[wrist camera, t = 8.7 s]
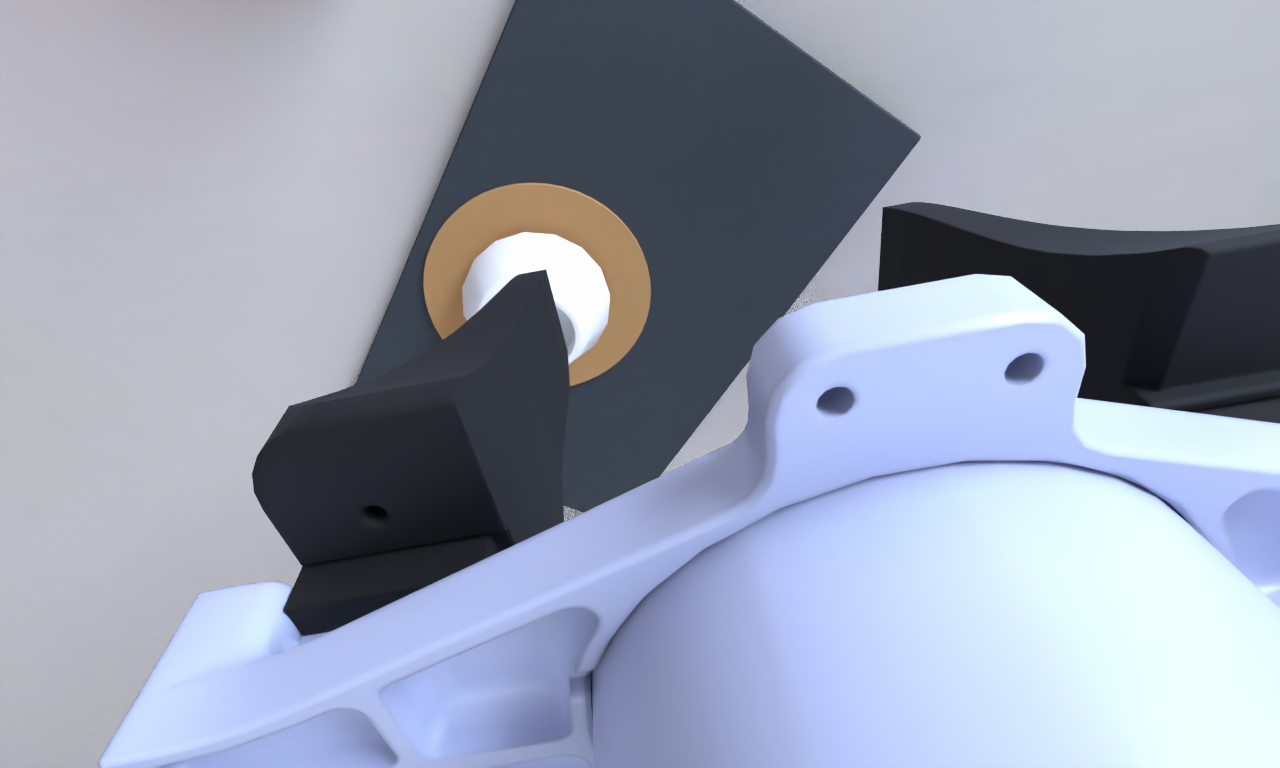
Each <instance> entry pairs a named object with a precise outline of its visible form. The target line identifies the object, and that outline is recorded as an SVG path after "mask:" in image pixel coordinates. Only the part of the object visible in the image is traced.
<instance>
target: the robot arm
mask: <svg viewBox="0 0 1280 768" xmlns="http://www.w3.org/2000/svg"><path fill="white" fill-rule="evenodd" d="M747 389H748V401H749V413H748V422H747V425H746V427H745V430H744V431H743V433H742V434H741V435H740V436H739V437H738V438H737V439H736V440H735V441H733V442H732V443H730V444H728V445H726V446H724V447H722V448H719V449H717V450H715V451H713V452H711V453H709V454H707V455H705V456H702V457H700V458H698V459H696V460H694V461H692V462H690V463H688V464H685V465H683V466H681V467H679V468H677V469H675V470H673V471H671V472H668V473H666V474H664V475H662V476H660V477H658V478H656V479H654V480H651V481H649V482H647V483H645V484H643V485H641V486H639V487H637V488H634V489H632V490H630V491H628V492H626V493H624V494H622V495H620V496H617V497H615V498H613V499H611V500H609V501H607V502H605V503H603V504H600V505H598V506H596V507H594V508H592V509H590V510H588V511H586V512H583V513H581V514H579V515H577V516H575V517H573V518H571V519H569V520H566V521H564V515H563V485H562V471H563V454H564V444H565V434H566V423H567V413H568V402H569V390H570V380H569V363H568V350H567V347H566V343H565V339H564V335H563V331H562V328H561V324H560V320H559V316H558V312H557V309H556V305H555V301H554V297H553V293H552V290H551V286H550V282H549V278H548V274H547V271H546V269H545V270H540V271H534V272H529V273H523V274H518V275H517V276H515V277H514V278H512V279H511V280H510V281H509V282H508V283H507V284H506V285H505V286H504V287H503V288H502V289H501V290H500V291H499V292H498V293H497V294H496V295H495V296H494V297H493V298H492V299H491V300H490V301H489V302H488V303H487V304H485V305H484V306H483V307H482V308H481V309H480V310H479V311H478V312H477V313H476V314H474V315H473V316H472V317H471V318H470V319H469V320H467V321H466V322H465V323H464V324H463V325H462V326H460V327H459V328H458V329H457V330H456V331H454V332H453V333H452V334H450V335H449V336H448V337H446V338H445V339H444V340H442V341H441V342H439V343H438V344H436V345H435V346H433V347H431V348H430V349H428V350H427V351H425V352H424V353H422V354H420V355H418V356H416V357H414V358H413V359H411V360H409V361H407V362H405V363H403V364H401V365H399V366H398V367H396V368H394V369H392V370H390V371H388V372H386V373H383V374H381V375H379V376H377V377H374V378H372V379H370V380H367V381H365V382H362V383H360V384H357V385H354V386H352V387H349V388H346V389H344V390H341V391H338V392H335V393H331V394H328V395H325V396H322V397H318V398H315V399H312V400H309V401H305V402H302V403H298V404H295V405H291V406H289V407H288V409H287V410H286V412H285V413H284V415H283V417H282V418H281V420H280V421H279V423H278V424H277V426H276V428H275V429H274V431H273V432H272V434H271V435H270V437H269V439H268V440H267V442H266V443H265V445H264V446H263V448H262V450H261V451H260V453H259V454H258V456H257V458H256V462H255V466H254V469H253V473H252V478H253V486H254V493H255V495H256V497H257V499H258V501H259V503H260V505H261V507H262V509H263V510H264V512H265V513H266V515H267V516H268V518H269V519H270V520H271V522H272V523H273V525H274V526H275V528H276V529H277V531H278V532H279V533H280V535H281V536H282V538H283V539H284V541H285V542H286V543H287V545H288V546H289V548H290V549H291V551H292V552H293V553H294V555H295V556H296V558H297V559H298V561H299V562H300V564H301V565H302V566H303V567H302V569H301V572H300V574H299V576H298V578H297V580H296V583H295V585H294V587H293V588H292V587H291V586H290V585H287V584H284V583H281V582H278V581H265V582H260V583H254V584H248V585H242V586H237V587H231V588H225V589H219V590H214V591H208V592H202V593H199V594H198V595H197V596H196V598H195V600H194V601H193V603H192V605H191V607H190V608H189V610H188V612H187V613H186V615H185V617H184V618H183V620H182V622H181V623H180V625H179V627H178V628H177V630H176V632H175V633H174V635H173V637H172V638H171V640H170V642H169V644H168V645H167V647H166V649H165V650H164V652H163V654H162V655H161V657H160V659H159V660H158V662H157V664H156V665H155V667H154V669H153V670H152V672H151V674H150V675H149V677H148V679H147V680H146V682H145V684H144V686H143V687H142V689H141V691H140V692H139V694H138V696H137V697H136V699H135V701H134V702H133V704H132V706H131V707H130V709H129V711H128V712H127V714H126V716H125V717H124V719H123V721H122V723H121V724H120V726H119V728H118V729H117V731H116V733H115V734H114V736H113V738H112V739H111V741H110V743H109V744H108V746H107V748H106V749H105V751H104V753H103V754H102V756H101V758H100V760H99V761H98V763H97V764H98V766H99V768H1280V224H1277V225H1268V226H1258V227H1249V228H1235V229H1217V230H1198V231H1116V230H1098V229H1086V228H1075V227H1064V226H1056V225H1048V224H1041V223H1035V222H1029V221H1022V220H1016V219H1011V218H1005V217H1000V216H995V215H990V214H985V213H980V212H975V211H970V210H965V209H960V208H955V207H950V206H945V205H939V204H932V203H923V202H911V203H906V204H900V205H895V206H889V207H884V208H883V215H882V233H881V250H880V268H879V285H878V292H872V293H867V294H861V295H856V296H850V297H845V298H839V299H834V300H828V301H823V302H817V303H813V304H811V305H809V306H806V307H804V308H801V309H799V310H797V311H794V312H792V313H789V314H787V315H785V316H782V317H780V318H778V319H777V320H776V321H775V323H774V324H773V325H772V326H771V327H770V328H769V329H768V330H767V331H766V332H765V334H764V335H763V336H762V337H761V338H760V339H759V340H758V341H757V342H756V343H755V345H754V346H753V351H752V355H751V359H750V364H749V368H748V372H747Z"/></svg>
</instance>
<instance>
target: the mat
mask: <svg viewBox="0 0 1280 768" xmlns="http://www.w3.org/2000/svg"><path fill="white" fill-rule="evenodd" d="M920 138H921V137H920V135H918V134H917V133H916V132H914V131H913V130H912V129H910V128H909V127H907V126H906V125H905V124H903V123H902V122H901V121H899V120H898V119H896V118H895V117H894V116H892V115H891V114H890V113H888V112H887V111H885V110H884V109H883V108H881V107H880V106H879V105H877V104H876V103H874V102H873V101H872V100H870V99H869V98H868V97H866V96H865V95H863V94H862V93H861V92H859V91H858V90H857V89H855V88H854V87H852V86H851V85H850V84H848V83H847V82H846V81H844V80H843V79H841V78H840V77H839V76H837V75H836V74H835V73H833V72H832V71H830V70H829V69H828V68H826V67H825V66H824V65H822V64H821V63H819V62H818V61H817V60H815V59H814V58H813V57H811V56H810V55H808V54H807V53H806V52H804V51H803V50H802V49H800V48H799V47H797V46H796V45H795V44H793V43H792V42H791V41H789V40H788V39H786V38H785V37H784V36H782V35H781V34H780V33H778V32H777V31H775V30H774V29H773V28H771V27H770V26H769V25H767V24H766V23H764V22H763V21H762V20H760V19H759V18H758V17H756V16H755V15H753V14H752V13H751V12H749V11H748V10H747V9H745V8H744V7H742V6H741V5H740V4H738V3H737V2H736V1H734V0H516V1H515V3H514V6H513V8H512V11H511V13H510V15H509V18H508V20H507V23H506V25H505V27H504V30H503V32H502V35H501V37H500V39H499V42H498V44H497V47H496V49H495V51H494V54H493V56H492V59H491V61H490V63H489V66H488V68H487V71H486V73H485V75H484V78H483V80H482V83H481V85H480V87H479V90H478V92H477V95H476V97H475V99H474V102H473V104H472V107H471V109H470V111H469V114H468V116H467V119H466V121H465V123H464V126H463V128H462V131H461V133H460V135H459V138H458V140H457V143H456V145H455V147H454V150H453V152H452V155H451V157H450V159H449V162H448V164H447V167H446V169H445V171H444V174H443V176H442V179H441V181H440V183H439V186H438V188H437V190H436V193H435V195H434V198H433V200H432V202H431V205H430V207H429V210H428V212H427V214H426V217H425V219H424V222H423V224H422V226H421V229H420V231H419V234H418V236H417V238H416V241H415V243H414V246H413V248H412V250H411V253H410V255H409V258H408V260H407V262H406V265H405V267H404V270H403V272H402V274H401V277H400V279H399V282H398V284H397V286H396V289H395V291H394V294H393V296H392V298H391V301H390V303H389V306H388V308H387V310H386V313H385V315H384V318H383V320H382V322H381V325H380V327H379V330H378V332H377V334H376V337H375V339H374V342H373V344H372V346H371V349H370V351H369V354H368V356H367V358H366V361H365V363H364V366H363V368H362V370H361V373H360V375H359V378H358V380H357V382H356V385H357V384H360V383H362V382H365V381H367V380H370V379H372V378H374V377H377V376H379V375H381V374H383V373H386V372H388V371H390V370H392V369H394V368H396V367H398V366H399V365H401V364H403V363H405V362H407V361H409V360H411V359H413V358H414V357H416V356H418V355H420V354H422V353H424V352H425V351H427V350H428V349H430V348H431V347H433V346H435V345H436V344H438V343H439V342H441V341H442V340H444V339H445V338H446V337H448V336H449V335H450V334H452V333H453V332H454V331H456V330H457V329H458V328H459V327H460V326H462V325H463V324H464V323H465V322H466V319H465V317H464V315H463V295H462V287H463V284H464V282H465V280H466V277H467V275H468V273H469V270H470V268H471V266H472V263H473V261H474V259H475V258H476V257H478V256H479V255H480V254H481V253H482V252H483V251H484V250H486V249H487V248H488V247H489V246H490V245H491V244H493V243H494V242H495V241H497V240H500V239H503V238H506V237H510V236H513V235H516V234H519V233H522V232H530V233H543V234H555V235H557V236H559V237H561V238H563V239H565V240H567V241H569V242H571V243H574V244H576V245H578V246H580V247H582V248H583V249H584V250H585V252H586V253H587V254H588V255H589V256H590V257H591V258H592V259H593V260H594V261H595V262H596V264H597V265H598V266H599V267H600V268H601V270H602V273H603V276H604V279H605V281H606V284H607V287H608V290H609V293H610V304H609V315H608V323H607V325H606V327H605V329H604V330H603V332H602V334H601V336H600V337H599V339H598V341H597V342H596V344H595V345H594V346H593V347H592V348H590V349H589V350H588V351H586V352H585V353H584V354H582V355H581V356H580V357H578V358H577V359H576V360H574V361H573V362H572V363H570V364H569V380H570V390H569V402H568V413H567V423H566V434H565V444H564V454H563V471H562V485H563V505H564V506H567V507H570V508H573V509H575V510H578V511H581V512H586V511H588V510H590V509H592V508H594V507H596V506H598V505H600V504H603V503H605V502H607V501H609V500H611V499H613V498H615V497H617V496H620V495H622V494H624V493H626V492H628V491H630V490H632V489H634V488H637V487H639V486H641V485H643V484H645V483H647V482H649V481H651V480H654V479H656V478H658V477H659V476H660V475H661V474H662V472H663V471H664V470H665V469H666V467H667V466H668V465H669V463H670V462H671V461H672V459H673V458H674V457H675V456H676V454H677V453H678V452H679V450H680V449H681V448H682V447H683V445H684V444H685V443H686V441H687V440H688V439H689V437H690V436H691V435H692V434H693V432H694V431H695V430H696V428H697V427H698V426H699V425H700V423H701V422H702V421H703V419H704V418H705V417H706V415H707V414H708V413H709V412H710V410H711V409H712V408H713V406H714V405H715V404H716V403H717V401H718V400H719V399H720V397H721V396H722V395H723V394H724V392H725V391H726V390H727V388H728V387H729V386H730V384H731V383H732V382H733V381H734V379H735V378H736V377H737V375H738V374H739V373H740V372H741V370H742V369H743V368H744V366H745V365H746V364H747V362H748V361H749V360H750V359H751V355H752V351H753V346H754V345H755V343H756V342H757V341H758V340H759V339H760V338H761V337H762V336H763V335H764V334H765V332H766V331H767V330H768V329H769V328H770V327H771V326H772V325H773V324H774V323H775V321H776V320H777V319H778V318H780V317H782V316H784V315H785V313H786V312H787V311H788V309H789V308H790V307H791V306H792V304H793V303H794V302H795V300H796V299H797V298H798V296H799V295H800V294H801V293H802V291H803V290H804V289H805V287H806V286H807V285H808V284H809V282H810V281H811V280H812V278H813V277H814V276H815V274H816V273H817V272H818V271H819V269H820V268H821V267H822V265H823V264H824V263H825V262H826V260H827V259H828V258H829V256H830V255H831V254H832V252H833V251H834V250H835V249H836V247H837V246H838V245H839V243H840V242H841V241H842V240H843V238H844V237H845V236H846V234H847V233H848V232H849V231H850V229H851V228H852V227H853V225H854V224H855V223H856V221H857V220H858V219H859V218H860V216H861V215H862V214H863V212H864V211H865V210H866V209H867V207H868V206H869V205H870V203H871V202H872V201H873V199H874V198H875V197H876V196H877V194H878V193H879V192H880V190H881V189H882V188H883V187H884V185H885V184H886V183H887V181H888V180H889V179H890V177H891V176H892V175H893V174H894V172H895V171H896V170H897V168H898V167H899V166H900V165H901V163H902V162H903V161H904V159H905V158H906V157H907V155H908V154H909V153H910V152H911V150H912V149H913V148H914V146H915V145H916V144H917V143H918V141H919V140H920Z"/></svg>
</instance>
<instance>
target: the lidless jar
mask: <svg viewBox="0 0 1280 768" xmlns="http://www.w3.org/2000/svg"><path fill="white" fill-rule="evenodd" d="M545 269H546V271H547V274H548V278H549V282H550V286H551V290H552V293H553V297H554V301H555V305H556V309H557V312H558V316H559V320H560V324H561V328H562V331H563V335H564V339H565V343H566V347H567V350H568V363H569V364H570V363H572V362H573V361H574V360H576V359H577V358H578V357H580V356H581V355H582V354H584V353H585V352H586V351H588V350H589V349H590V348H592V347H593V346H594V345H595V344H596V342H597V341H598V339H599V337H600V336H601V334H602V332H603V330H604V329H605V327H606V325H607V323H608V315H609V304H610V293H609V290H608V287H607V284H606V281H605V279H604V276H603V273H602V270H601V268H600V267H599V266H598V265H597V264H596V262H595V261H594V260H593V259H592V258H591V257H590V256H589V255H588V254H587V253H586V252H585V250H584V249H583V248H582V247H580V246H578V245H576V244H574V243H571V242H569V241H567V240H565V239H563V238H561V237H559V236H557V235H555V234H543V233H530V232H522V233H519V234H516V235H513V236H510V237H506V238H503V239H500V240H497V241H495V242H494V243H493V244H491V245H490V246H489V247H488V248H487V249H486V250H484V251H483V252H482V253H481V254H480V255H479V256H478V257H476V258H475V259H474V261H473V263H472V266H471V268H470V270H469V273H468V275H467V277H466V280H465V282H464V284H463V287H462V295H463V315H464V317H465V319H466V321H467V320H469V319H470V318H471V317H472V316H473V315H474V314H476V313H477V312H478V311H479V310H480V309H481V308H482V307H483V306H484V305H485V304H487V303H488V302H489V301H490V300H491V299H492V298H493V297H494V296H495V295H496V294H497V293H498V292H499V291H500V290H501V289H502V288H503V287H504V286H505V285H506V284H507V283H508V282H509V281H510V280H511V279H512V278H514V277H515V276H517V275H518V274H523V273H529V272H534V271H540V270H545Z"/></svg>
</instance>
